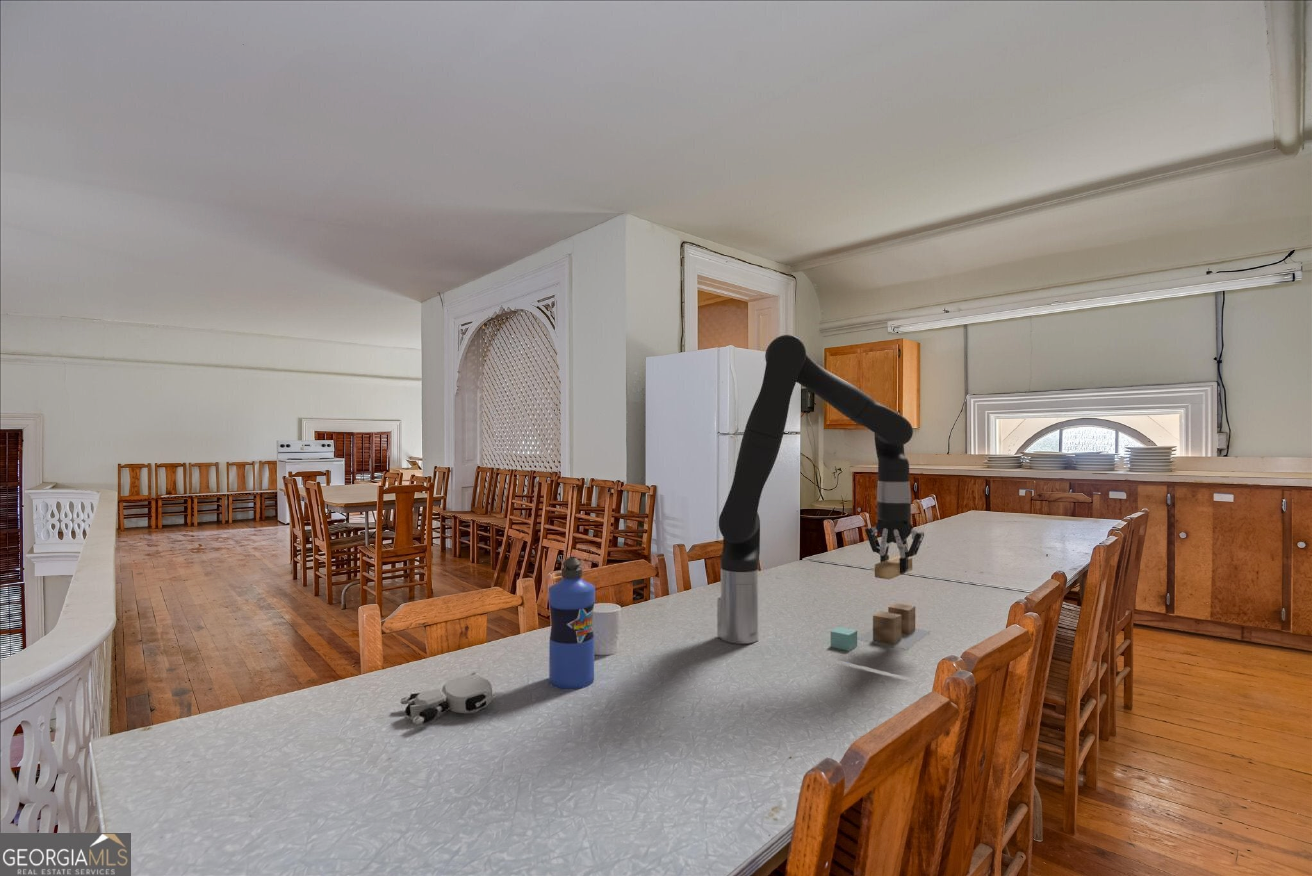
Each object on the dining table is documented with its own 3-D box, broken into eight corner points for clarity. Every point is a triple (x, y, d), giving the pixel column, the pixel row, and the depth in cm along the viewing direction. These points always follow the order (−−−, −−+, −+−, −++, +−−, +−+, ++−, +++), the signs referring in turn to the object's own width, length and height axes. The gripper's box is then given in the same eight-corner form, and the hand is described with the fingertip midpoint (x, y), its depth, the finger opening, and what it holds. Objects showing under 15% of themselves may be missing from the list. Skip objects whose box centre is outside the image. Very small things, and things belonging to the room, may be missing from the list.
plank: (874, 577, 145) (874, 564, 145) (898, 568, 155) (898, 555, 155) (889, 579, 142) (889, 566, 142) (912, 569, 153) (912, 557, 153)
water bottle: (604, 680, 127) (604, 557, 127) (568, 694, 120) (568, 564, 120) (574, 668, 133) (575, 551, 133) (539, 681, 126) (539, 557, 126)
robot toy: (415, 741, 103) (502, 713, 112) (412, 715, 103) (500, 688, 111) (398, 714, 113) (480, 690, 122) (397, 690, 113) (478, 667, 122)
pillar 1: (872, 640, 150) (872, 615, 150) (880, 635, 153) (880, 611, 153) (893, 644, 146) (893, 619, 146) (901, 639, 150) (901, 614, 150)
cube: (830, 650, 145) (830, 631, 145) (839, 645, 149) (839, 626, 149) (849, 654, 142) (849, 635, 142) (857, 649, 146) (857, 630, 146)
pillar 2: (888, 630, 157) (888, 606, 157) (895, 626, 161) (895, 603, 161) (908, 634, 154) (908, 610, 154) (915, 630, 158) (915, 606, 158)
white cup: (580, 653, 143) (580, 610, 143) (596, 643, 150) (596, 601, 150) (611, 658, 140) (611, 613, 140) (626, 647, 147) (626, 605, 147)
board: (856, 642, 151) (856, 638, 151) (884, 625, 164) (884, 622, 164) (906, 653, 143) (906, 649, 143) (931, 634, 157) (931, 631, 157)
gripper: (858, 499, 151) (859, 570, 151) (918, 503, 141) (918, 579, 141) (871, 497, 156) (872, 566, 156) (929, 500, 147) (930, 573, 147)
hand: (894, 571), depth 149 cm, fingers closed on plank, 3 cm apart
